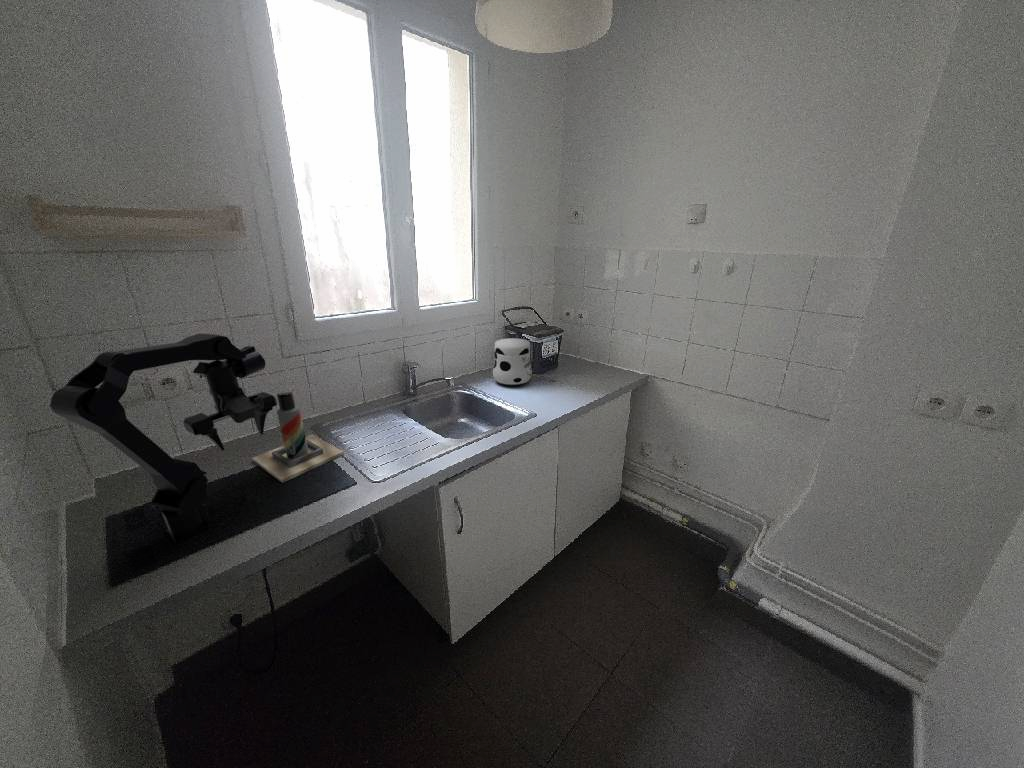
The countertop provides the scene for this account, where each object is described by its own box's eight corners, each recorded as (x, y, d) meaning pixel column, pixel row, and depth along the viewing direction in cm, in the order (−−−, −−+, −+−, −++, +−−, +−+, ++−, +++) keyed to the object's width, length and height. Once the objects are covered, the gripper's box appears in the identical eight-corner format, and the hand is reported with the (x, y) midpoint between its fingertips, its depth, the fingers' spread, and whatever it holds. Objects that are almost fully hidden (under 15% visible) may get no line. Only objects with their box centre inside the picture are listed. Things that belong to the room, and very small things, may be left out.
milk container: (539, 384, 175) (540, 344, 168) (504, 391, 166) (504, 350, 160) (518, 372, 188) (519, 335, 182) (486, 379, 180) (485, 340, 174)
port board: (282, 482, 106) (280, 475, 105) (252, 461, 116) (250, 453, 115) (343, 454, 120) (342, 447, 119) (312, 437, 130) (311, 430, 129)
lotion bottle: (285, 461, 114) (270, 397, 107) (289, 451, 119) (275, 390, 112) (306, 458, 116) (293, 395, 108) (310, 449, 121) (297, 388, 113)
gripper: (193, 407, 84) (216, 469, 90) (281, 379, 98) (295, 434, 104) (172, 396, 89) (194, 455, 95) (258, 371, 104) (273, 423, 110)
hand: (242, 441), depth 101 cm, fingers open, 9 cm apart
